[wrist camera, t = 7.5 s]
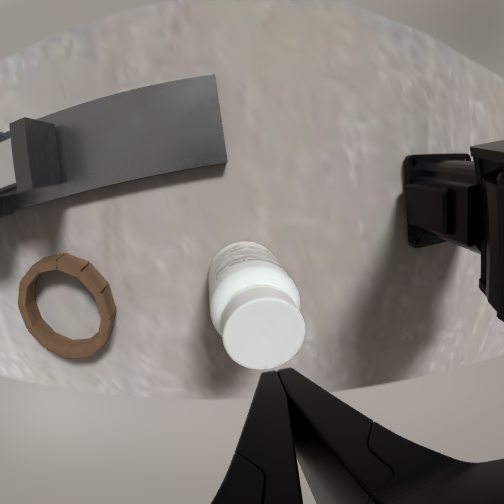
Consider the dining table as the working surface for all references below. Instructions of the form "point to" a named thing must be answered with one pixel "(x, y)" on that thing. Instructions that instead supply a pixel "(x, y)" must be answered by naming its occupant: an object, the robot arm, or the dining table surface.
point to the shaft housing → (131, 138)
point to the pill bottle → (254, 306)
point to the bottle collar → (43, 330)
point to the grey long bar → (29, 156)
